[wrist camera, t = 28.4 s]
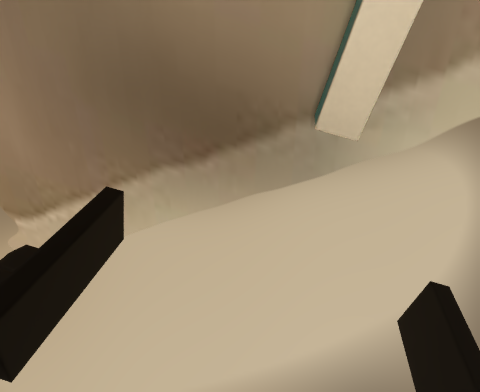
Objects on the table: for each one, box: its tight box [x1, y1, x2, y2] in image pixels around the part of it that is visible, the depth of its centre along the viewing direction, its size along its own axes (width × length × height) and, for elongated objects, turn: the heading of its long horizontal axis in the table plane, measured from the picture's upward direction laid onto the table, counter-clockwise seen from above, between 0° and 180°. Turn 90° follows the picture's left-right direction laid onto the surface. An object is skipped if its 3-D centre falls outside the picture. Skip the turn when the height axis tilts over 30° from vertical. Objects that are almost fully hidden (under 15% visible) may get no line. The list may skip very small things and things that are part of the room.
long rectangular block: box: [315, 0, 423, 141], centre depth 27 cm, size 22×4×5 cm, turn 167°
